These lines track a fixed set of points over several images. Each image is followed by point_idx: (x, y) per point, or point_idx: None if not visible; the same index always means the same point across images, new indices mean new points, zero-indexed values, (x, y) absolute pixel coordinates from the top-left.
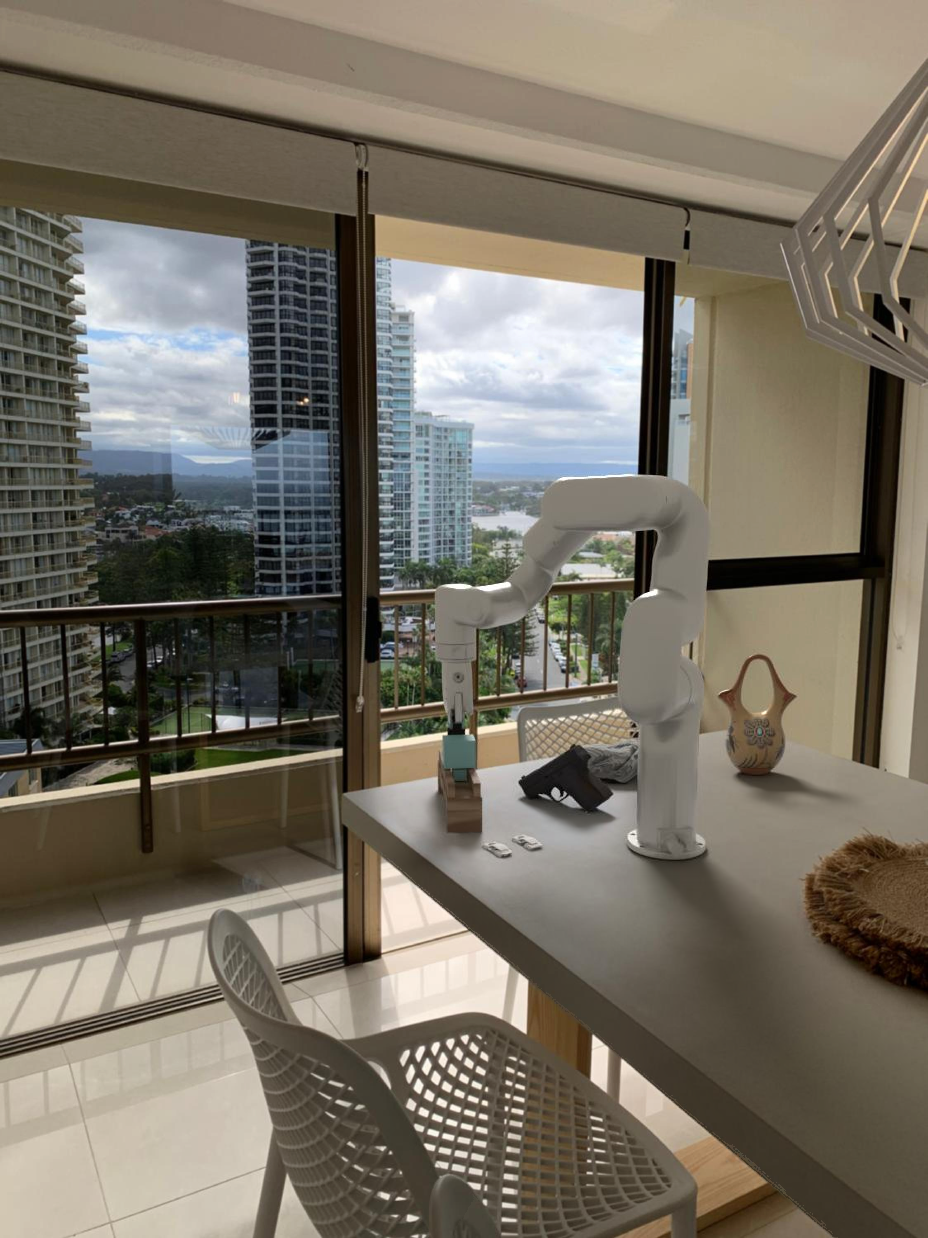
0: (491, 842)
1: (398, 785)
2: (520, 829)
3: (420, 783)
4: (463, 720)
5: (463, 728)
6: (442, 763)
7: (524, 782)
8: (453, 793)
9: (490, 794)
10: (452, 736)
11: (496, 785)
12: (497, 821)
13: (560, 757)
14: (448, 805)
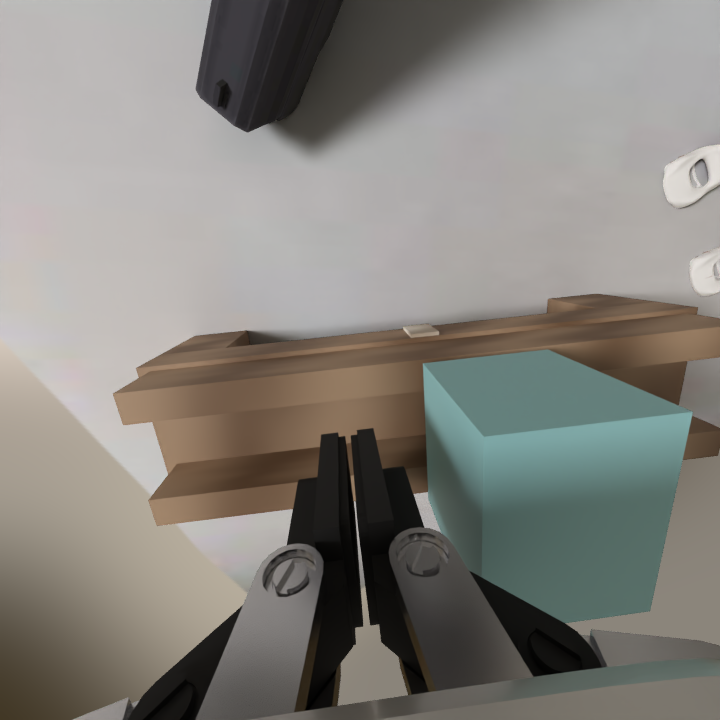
0: (711, 270)
1: (184, 532)
2: (599, 171)
3: (155, 480)
4: (499, 630)
5: (445, 543)
6: (413, 493)
7: (267, 97)
8: None
9: (249, 259)
10: (528, 576)
11: (137, 232)
12: (518, 244)
13: None
14: None
